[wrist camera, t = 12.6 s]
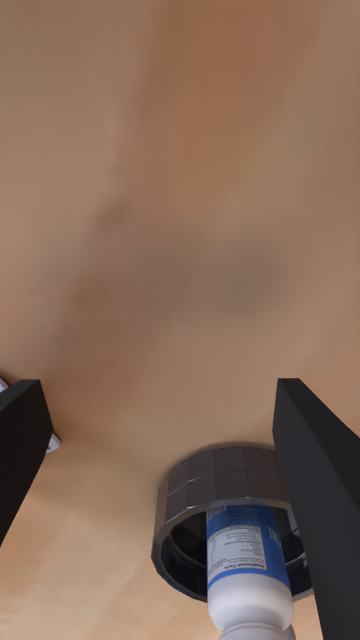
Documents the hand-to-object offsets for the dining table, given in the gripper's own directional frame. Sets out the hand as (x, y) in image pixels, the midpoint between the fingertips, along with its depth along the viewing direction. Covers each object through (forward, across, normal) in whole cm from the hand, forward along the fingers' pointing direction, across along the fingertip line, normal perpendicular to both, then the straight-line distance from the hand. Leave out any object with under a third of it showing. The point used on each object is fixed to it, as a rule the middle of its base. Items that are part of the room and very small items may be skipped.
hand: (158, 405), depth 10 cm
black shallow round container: (+10, -4, +19) cm, 22 cm away
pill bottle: (+10, -4, +19) cm, 22 cm away
